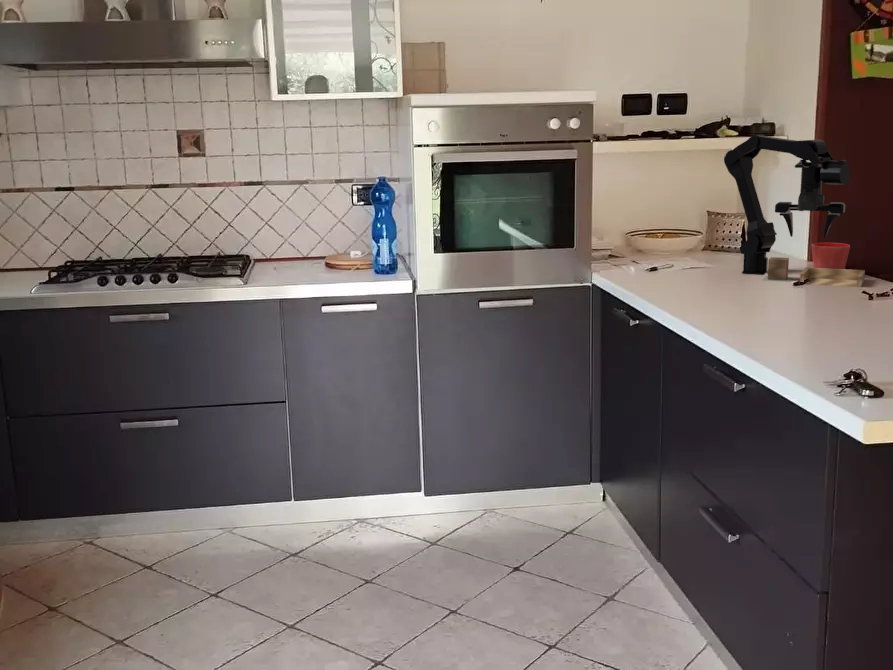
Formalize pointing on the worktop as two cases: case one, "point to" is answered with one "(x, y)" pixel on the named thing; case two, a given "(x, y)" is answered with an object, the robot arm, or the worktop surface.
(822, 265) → the flower pot
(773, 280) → the mat
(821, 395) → the worktop surface
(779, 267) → the block
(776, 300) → the worktop surface
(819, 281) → the crate
